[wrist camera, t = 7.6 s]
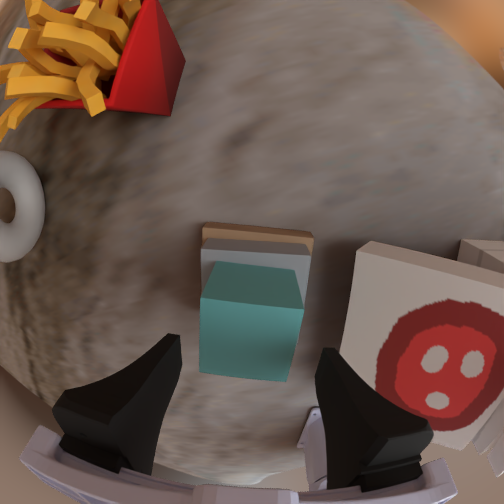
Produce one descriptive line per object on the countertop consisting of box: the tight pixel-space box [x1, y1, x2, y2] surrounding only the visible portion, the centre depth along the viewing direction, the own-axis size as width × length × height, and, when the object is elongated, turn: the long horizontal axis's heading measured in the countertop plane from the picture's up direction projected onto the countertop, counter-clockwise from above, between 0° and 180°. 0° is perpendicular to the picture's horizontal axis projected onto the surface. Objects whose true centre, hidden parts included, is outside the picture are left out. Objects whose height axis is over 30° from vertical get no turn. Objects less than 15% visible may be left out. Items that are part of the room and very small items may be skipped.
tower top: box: [201, 238, 311, 344], centre depth 20 cm, size 7×7×2 cm
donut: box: [0, 151, 45, 263], centre depth 16 cm, size 10×4×10 cm, turn 9°
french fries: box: [0, 0, 186, 143], centre depth 11 cm, size 9×8×15 cm
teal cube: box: [199, 261, 305, 382], centre depth 16 cm, size 5×5×5 cm
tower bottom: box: [201, 222, 314, 295], centre depth 22 cm, size 8×8×2 cm
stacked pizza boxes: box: [339, 239, 504, 477], centre depth 15 cm, size 19×30×18 cm, turn 90°
